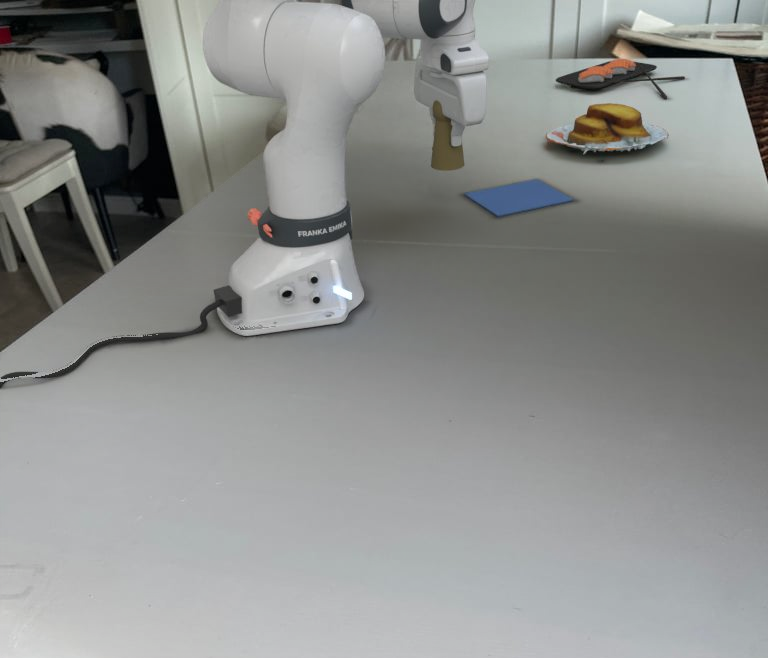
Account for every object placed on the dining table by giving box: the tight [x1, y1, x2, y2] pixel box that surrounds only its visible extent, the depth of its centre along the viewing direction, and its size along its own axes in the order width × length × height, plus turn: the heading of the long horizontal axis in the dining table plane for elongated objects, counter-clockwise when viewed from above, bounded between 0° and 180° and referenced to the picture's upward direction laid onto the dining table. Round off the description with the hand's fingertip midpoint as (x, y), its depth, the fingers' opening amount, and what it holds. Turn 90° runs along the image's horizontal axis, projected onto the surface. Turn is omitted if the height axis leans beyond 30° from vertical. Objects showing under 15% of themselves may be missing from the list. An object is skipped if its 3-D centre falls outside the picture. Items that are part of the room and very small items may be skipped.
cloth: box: [464, 178, 574, 218], centre depth 152 cm, size 16×13×1 cm
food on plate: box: [545, 102, 670, 162], centre depth 172 cm, size 25×25×7 cm
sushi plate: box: [555, 58, 686, 100], centre depth 210 cm, size 29×30×4 cm
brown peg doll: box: [430, 100, 465, 172], centre depth 139 cm, size 6×6×11 cm
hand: (447, 140), depth 140 cm, fingers closed on brown peg doll, 4 cm apart
